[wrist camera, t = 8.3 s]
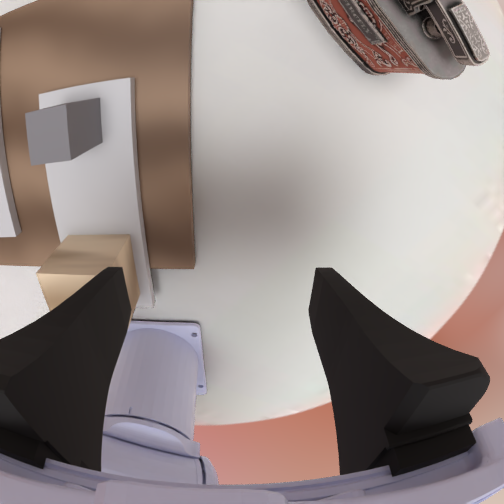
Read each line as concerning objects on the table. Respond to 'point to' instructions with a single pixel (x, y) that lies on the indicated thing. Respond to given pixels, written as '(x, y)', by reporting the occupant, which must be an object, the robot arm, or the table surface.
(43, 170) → the walnut board
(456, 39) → the lighter
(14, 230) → the empty strip
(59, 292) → the oak block
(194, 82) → the table surface
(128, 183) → the strip
